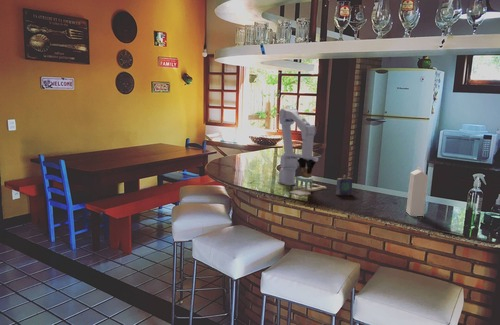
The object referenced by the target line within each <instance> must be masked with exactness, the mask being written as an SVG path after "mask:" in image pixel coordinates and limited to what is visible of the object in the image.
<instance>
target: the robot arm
mask: <svg viewBox="0 0 500 325" xmlns="http://www.w3.org/2000/svg"><path fill="white" fill-rule="evenodd" d="M278 119H279V120H278V121H279V124H280V125H281V130H282V131H281V132H282V141H283V149H284V151H283V154H282V155H280V160H279V162H280V164H279V165H280V167H281V168H279V172H278V181H277V183H279V184H282V185H286V186H293V185H296V170H297V169H298V168H300V169H301V168H302V167H307V174H311V171H312V172H313V168H314V166H315V165H316V163H317V162H319V157H316V156H313V155H314V154H313V153H314V152H313V150H314V137H315V136H316V134H317V127H316V125H314V124H313V125H312V124H310V123H309V122H308V121H307V119H306V118H302V117H301V115H299V111H298V110H297V109H296V108H281V109H280V110H279V112H278ZM294 123H295V124H296V127H297V128H298V129H299V130H300V135H301V139H302V142H301V143H302V144H301V154H300V153H295V152H294V147H293V140H292V139H293V138H292V128H291V127H292V126H291V125H293V124H294ZM299 166H300V167H299Z"/></svg>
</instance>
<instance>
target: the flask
mask: <svg viewBox="0 0 500 325" xmlns="http://www.w3.org/2000/svg"><path fill="white" fill-rule="evenodd" d="M353 180H354V179H353V178H352V177H349V176H346V174H343V176H342V177H341V178H340V177H339V178H337V179H336V189H335V196H340V197H341V196H351V195H352V190H353Z"/></svg>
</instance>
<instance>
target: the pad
mask: <svg viewBox="0 0 500 325" xmlns="http://www.w3.org/2000/svg"><path fill="white" fill-rule="evenodd" d="M289 193H290V194H292V195H295V196H300V197H302V196H308V195H311V194H312V193H311V192H306V191H303V190H297V189H295V190H290V191H289Z"/></svg>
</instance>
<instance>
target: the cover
mask: <svg viewBox="0 0 500 325" xmlns="http://www.w3.org/2000/svg"><path fill="white" fill-rule="evenodd" d="M299 181H300V184H299ZM313 181H314V179H313V178H312V177H309V178H305V177H301V175H300V176H295V183H296V184H295V186H296V187H298V186H303V185H305V189H307V184H310V188H312V184H314V183H313ZM295 186H294V187H295Z"/></svg>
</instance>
